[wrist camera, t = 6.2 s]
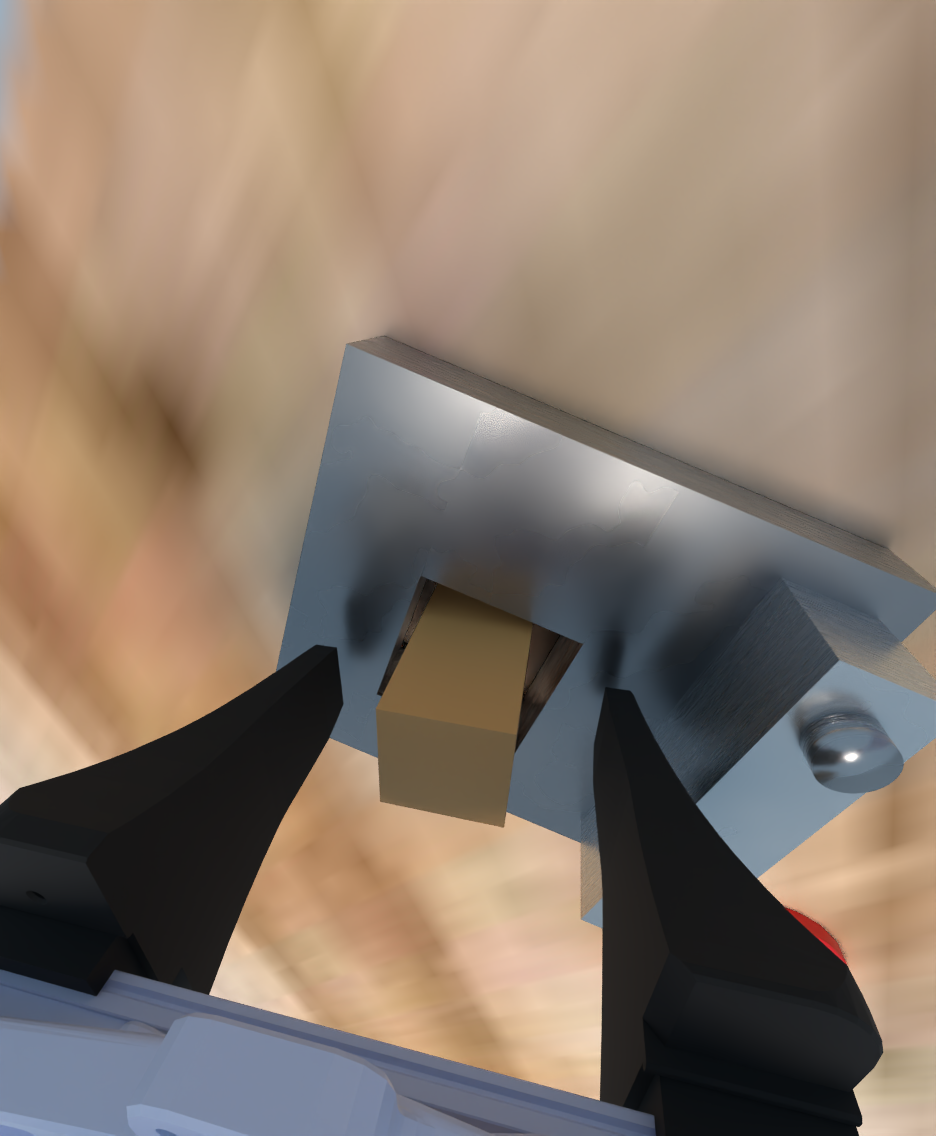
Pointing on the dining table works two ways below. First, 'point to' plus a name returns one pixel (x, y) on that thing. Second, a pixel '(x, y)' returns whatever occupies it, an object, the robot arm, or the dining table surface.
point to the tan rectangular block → (454, 710)
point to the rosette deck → (612, 604)
